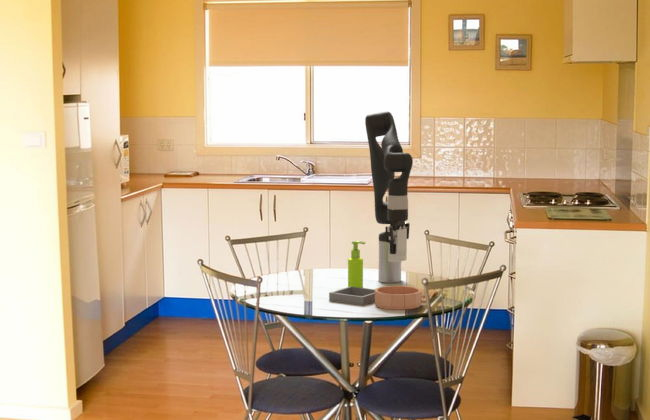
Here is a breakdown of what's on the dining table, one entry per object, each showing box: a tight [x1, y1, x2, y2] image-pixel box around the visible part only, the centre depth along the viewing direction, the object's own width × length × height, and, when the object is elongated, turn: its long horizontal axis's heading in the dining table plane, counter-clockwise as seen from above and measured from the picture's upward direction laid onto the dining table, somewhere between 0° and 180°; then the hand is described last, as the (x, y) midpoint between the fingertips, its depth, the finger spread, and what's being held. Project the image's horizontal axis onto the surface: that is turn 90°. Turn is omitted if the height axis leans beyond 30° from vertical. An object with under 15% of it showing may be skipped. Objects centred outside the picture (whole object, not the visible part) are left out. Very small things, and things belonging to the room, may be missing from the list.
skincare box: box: [388, 228, 408, 263], centre depth 345 cm, size 6×4×12 cm
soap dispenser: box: [347, 240, 366, 288], centre depth 371 cm, size 6×7×20 cm
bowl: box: [374, 285, 422, 311], centre depth 347 cm, size 17×17×6 cm
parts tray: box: [328, 286, 376, 306], centre depth 357 cm, size 15×15×3 cm
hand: (397, 252), depth 345 cm, fingers closed on skincare box, 6 cm apart
